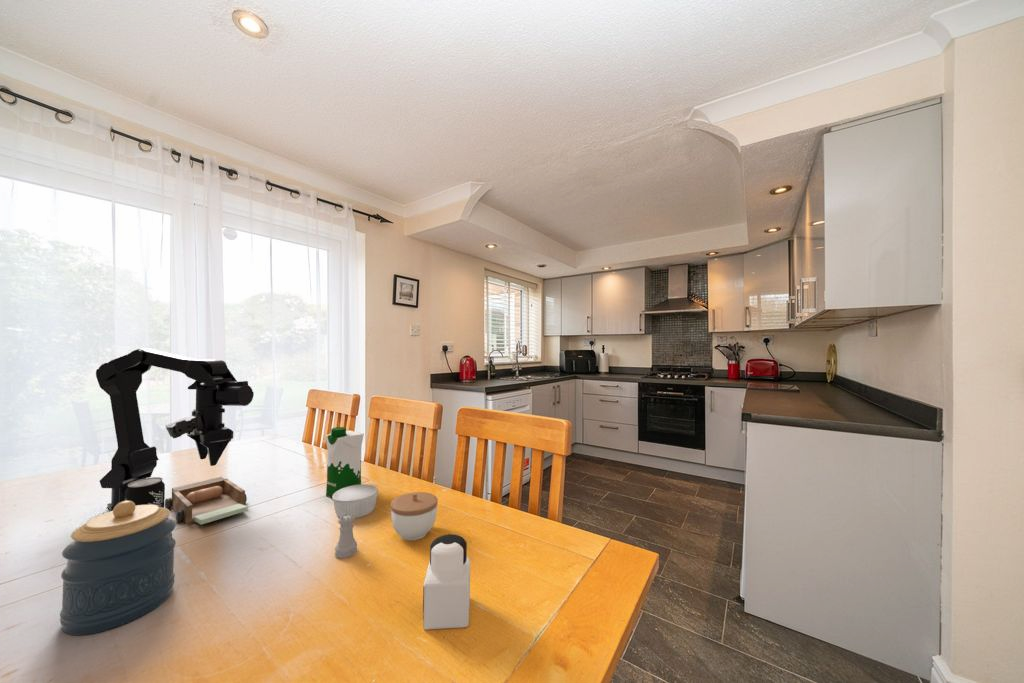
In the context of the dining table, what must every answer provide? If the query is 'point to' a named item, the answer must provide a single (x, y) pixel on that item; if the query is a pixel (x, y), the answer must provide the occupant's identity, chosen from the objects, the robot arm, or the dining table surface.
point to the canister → (117, 568)
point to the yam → (204, 494)
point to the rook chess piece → (346, 537)
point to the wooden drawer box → (188, 511)
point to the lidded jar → (414, 514)
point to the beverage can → (146, 492)
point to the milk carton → (343, 459)
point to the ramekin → (355, 500)
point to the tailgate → (220, 513)
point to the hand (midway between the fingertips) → (207, 462)
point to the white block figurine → (447, 584)
